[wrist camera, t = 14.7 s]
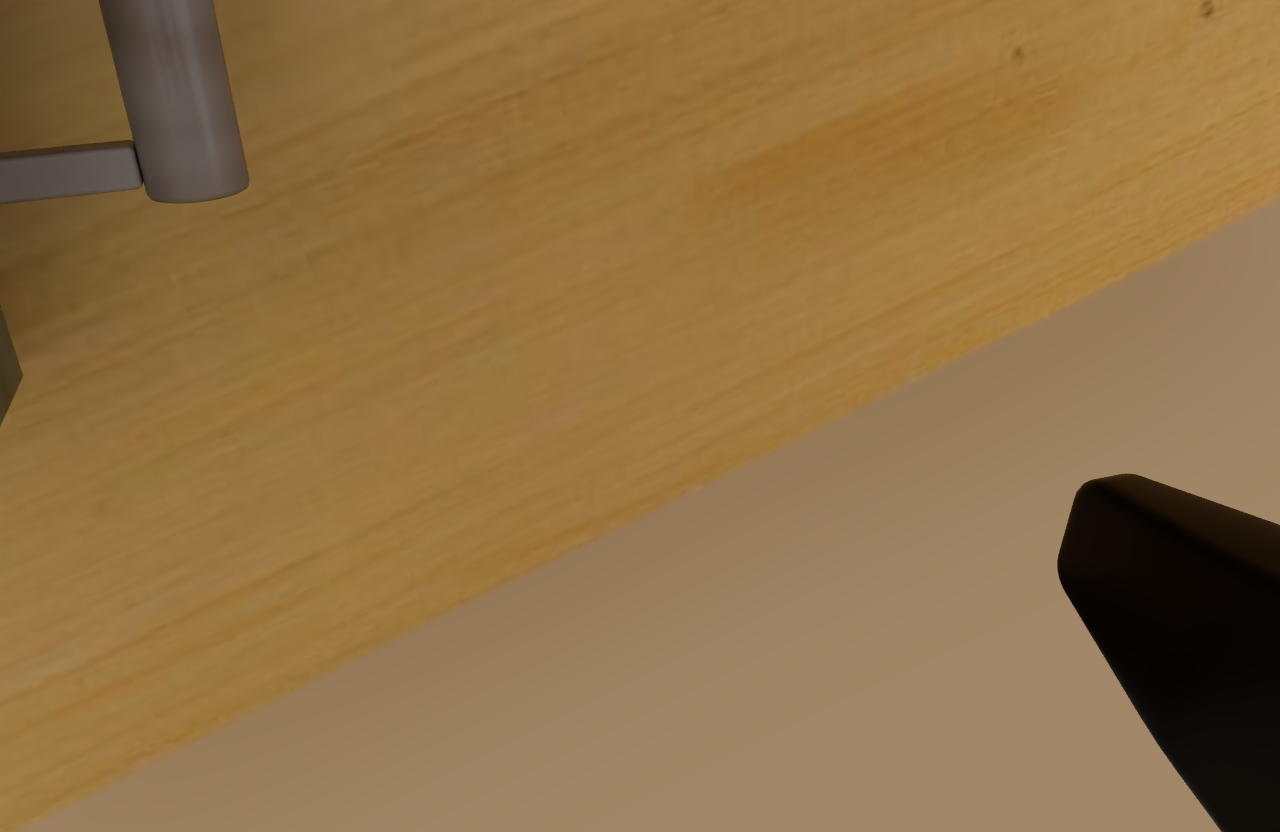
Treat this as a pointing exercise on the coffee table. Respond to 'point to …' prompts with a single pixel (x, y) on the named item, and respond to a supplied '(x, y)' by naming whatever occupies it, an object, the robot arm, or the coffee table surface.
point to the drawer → (144, 127)
